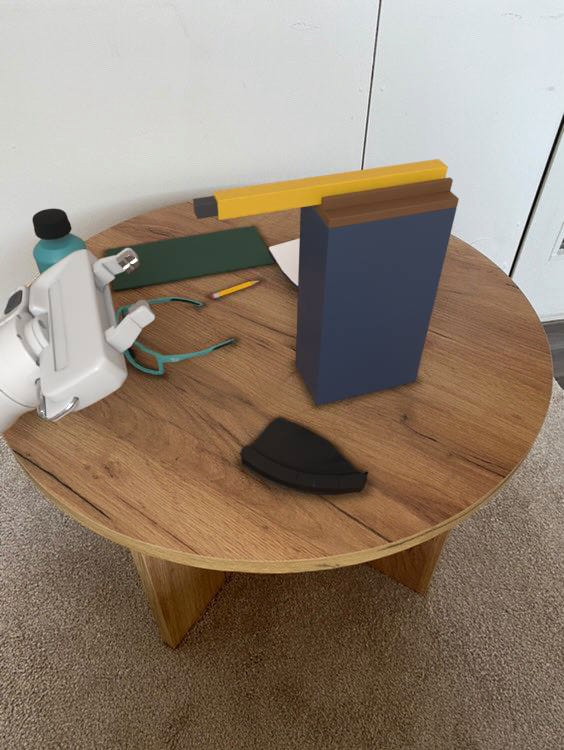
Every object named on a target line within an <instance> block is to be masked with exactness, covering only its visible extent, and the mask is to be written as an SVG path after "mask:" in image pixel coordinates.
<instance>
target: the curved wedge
mask: <svg viewBox="0 0 564 750" xmlns="http://www.w3.org/2000/svg"><path fill="white" fill-rule="evenodd" d="M239 456H240V458H241V466H242V467H243V468H244V469H245V470H248V471H249V472H250V473H251V474H253V475H255V476H257V477H258V478H260V479H262V480H264V481H266V482H267V483H269V484H271V485H272V484H273V485H274V486H277V487H280V488H281V489H285V490H287V491H292V492H297V493H303V494H309V495H317V496H318V495H319V496H339V495H348V494H354V493H360V492H362V491H363V490H364V489H365V488H366V483H367V477H368V474H369V471H365V472H360V471H358V470H357V469H356V468H355V467H354V466H353V465H352V464H351V463H350V462H349V461H348V460H347V459H346V458H344V457H343V455H341V454H340V452H339V451H338V450H337V449H336V448H335V447H334V445H333V444H332V443H331V442H329V441H328V440H326V439H325V438H324V437H323V436H320V435H319V434H317V433H315V432H313V431H312V430H310V429H308V428H306V427H305V426H302V425H300V424H297V423H295V422H292V421H289V420H286V419H284V418H282V417H279V416H278V417H276V418H275V419H273V420H272V421H271V422H270V423H269V424H268V425H267V426H266V427H265V428H264V429H263V431H262V432H261V433H260V434H259V436H258V437H257V438H256V440H254V442H253V443H252V444H247V445H246V446H244V447H243V448H241V450H240V452H239Z"/></svg>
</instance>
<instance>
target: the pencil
mask: <svg viewBox="0 0 564 750" xmlns="http://www.w3.org/2000/svg"><path fill="white" fill-rule="evenodd" d="M257 283H259V280H250V281H246V282H244V283H241V284H237V285H235V286H231V287H230V288H226V289H224V290H221V291H217V292H215V293H212V294H211V295H210V298H211V299H212V300H214V299H218V298H221V297H223V296H226V295H229V294H231V293H234V292H237V291H240V290H243V289H246V288H249V287H252V286H253V285H255V284H257Z"/></svg>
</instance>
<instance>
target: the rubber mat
mask: <svg viewBox="0 0 564 750" xmlns="http://www.w3.org/2000/svg"><path fill="white" fill-rule="evenodd" d="M125 248H131V249H132V250H133V251H134V252H135V253H136V254H137V256H138V259H139V263H140V265H139V266H138V267H137V268H135V269H134V270H133V271H132V272H130V273H129V274H128V273H127V272H126V271H124V272H121V273H118V274H116V275H114V276H115V279H113V280H112V281H111V282H112V287H113V291H114V292H116V293H117V292H121V291H126V290H133V289H137V288H138V289H139V288H144V287H149V286H153V285H154V286H155V285H161V284H166V283H171V282H172V283H173V282H176V281H177V282H178V281H182V280H188V279H194V278H199V277H205V276H210V275H211V276H212V275H216V274H222V273H227V272H228V273H229V272H233V271H234V272H235V271H240V270H244V269H250V268H255V267H261V266H267V265H273V264H274V263H275V260H274V258H273V257H272V255H271V253H270V252H269V249H267V246H266V245H265V243H264V241H263V240H262V237H261V236H260V234H259V232H258V231H257V229H256V227H255V226H254V225H250V226H243V227H238V228H233V229H226V230H219V231H214V232H207V233H201V234H195V235H189V236H182V237H176V238H170V239H164V240H157V241H152V242H145V243H139V244H133V245H127V246H126V245H125V246H121V247H115V248H108V249H105V252H106V257H110V256H114V255H115V256H116V255H117V254H119V253H120V252H121V251H123V250H124V249H125Z"/></svg>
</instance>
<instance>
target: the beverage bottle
mask: <svg viewBox="0 0 564 750" xmlns="http://www.w3.org/2000/svg"><path fill="white" fill-rule="evenodd" d="M31 220H32V226H33V232H34V234H35V237H37V238H38V239H39V240H38V241H37V242H36V244H35V245H34V247H33V249H32V256H33V259H34V260H35V263H36V267H37V269H38V272H39V275H41V274H42V273H43V272H44V271H46V270H47V269H49V268H50V267H51V266H53V265H54V264H56V263H57V262H58V261H60V260H61V259H63V258H64V257H66V256H67V255H69V254H71V253H72V252H74V251H77V250H82V249H87V245H86V242H85V241H84V239H83V238H81V237H80V236H78V235H76V234H74V233H71V232H72V225H71V222H70V220H69V217H68V214H67V213H66V211H65V210H63V209H61V208H45V209H42V210H39V211H38V212H36V213H35V214H33V216H32V219H31Z"/></svg>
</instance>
